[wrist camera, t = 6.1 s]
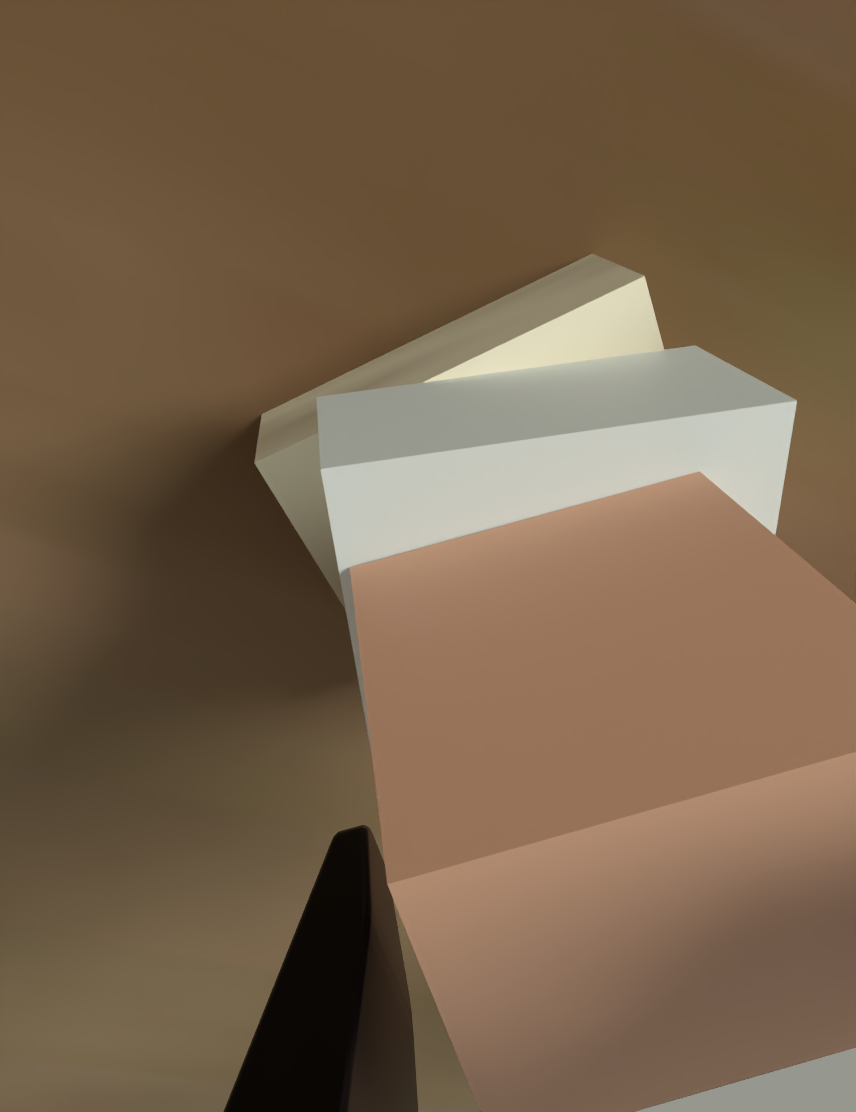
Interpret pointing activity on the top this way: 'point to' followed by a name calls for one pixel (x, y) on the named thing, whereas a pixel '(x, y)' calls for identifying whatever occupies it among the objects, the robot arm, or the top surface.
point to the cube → (619, 796)
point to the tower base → (461, 372)
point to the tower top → (540, 448)
